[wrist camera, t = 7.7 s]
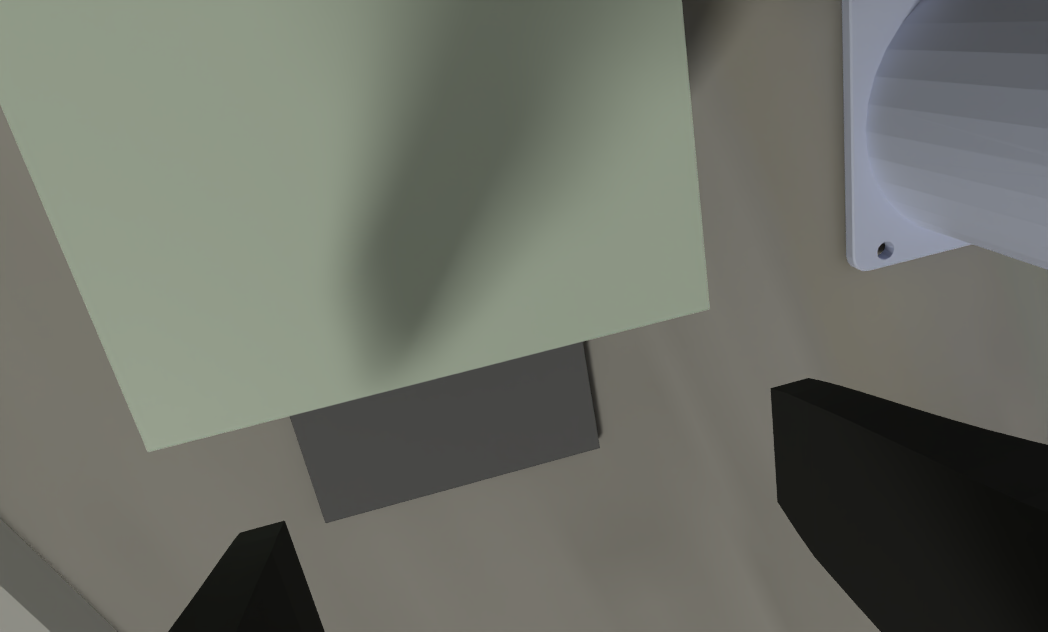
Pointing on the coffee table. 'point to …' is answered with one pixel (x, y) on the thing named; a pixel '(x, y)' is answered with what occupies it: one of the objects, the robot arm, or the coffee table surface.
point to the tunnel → (353, 188)
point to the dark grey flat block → (448, 431)
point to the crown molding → (39, 593)
